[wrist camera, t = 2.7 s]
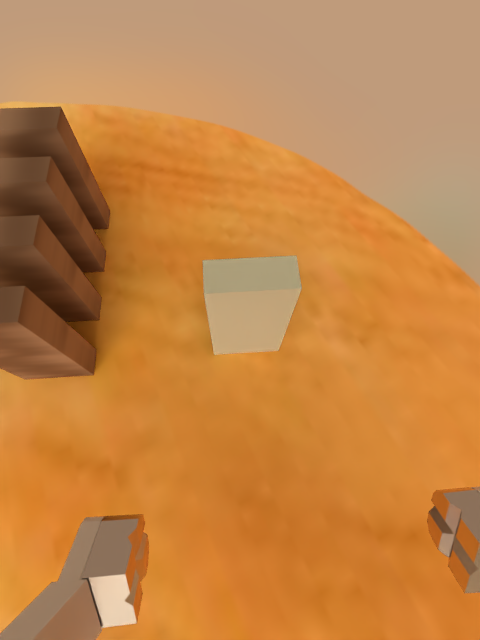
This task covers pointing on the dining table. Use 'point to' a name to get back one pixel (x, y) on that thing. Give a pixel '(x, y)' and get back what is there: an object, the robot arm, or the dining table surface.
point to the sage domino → (250, 302)
